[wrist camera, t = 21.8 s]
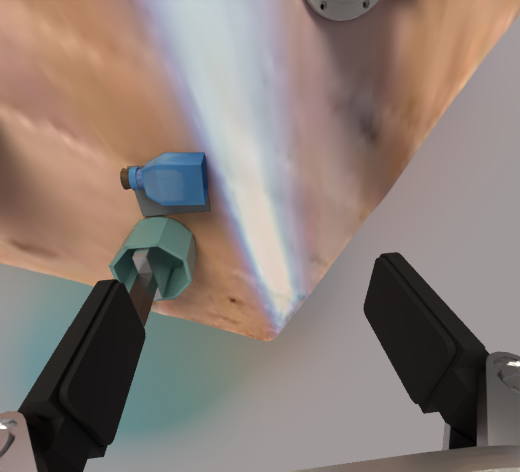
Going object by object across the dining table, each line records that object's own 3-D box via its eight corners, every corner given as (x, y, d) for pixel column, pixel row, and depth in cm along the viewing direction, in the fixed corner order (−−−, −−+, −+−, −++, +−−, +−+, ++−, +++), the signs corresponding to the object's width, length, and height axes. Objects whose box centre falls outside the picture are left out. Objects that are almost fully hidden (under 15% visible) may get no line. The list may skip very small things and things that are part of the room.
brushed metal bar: (161, 222, 47) (130, 295, 32) (173, 261, 52) (151, 340, 37) (148, 224, 47) (110, 297, 32) (161, 262, 52) (134, 342, 37)
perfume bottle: (204, 204, 40) (123, 206, 39) (207, 188, 45) (135, 190, 44) (200, 164, 37) (111, 165, 36) (204, 152, 42) (126, 152, 41)
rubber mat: (202, 161, 43) (202, 161, 43) (210, 209, 48) (210, 210, 48) (127, 166, 42) (126, 167, 42) (143, 215, 47) (142, 216, 47)
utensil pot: (189, 213, 48) (181, 240, 40) (200, 265, 55) (195, 296, 47) (120, 219, 47) (100, 248, 40) (140, 270, 54) (126, 303, 46)
